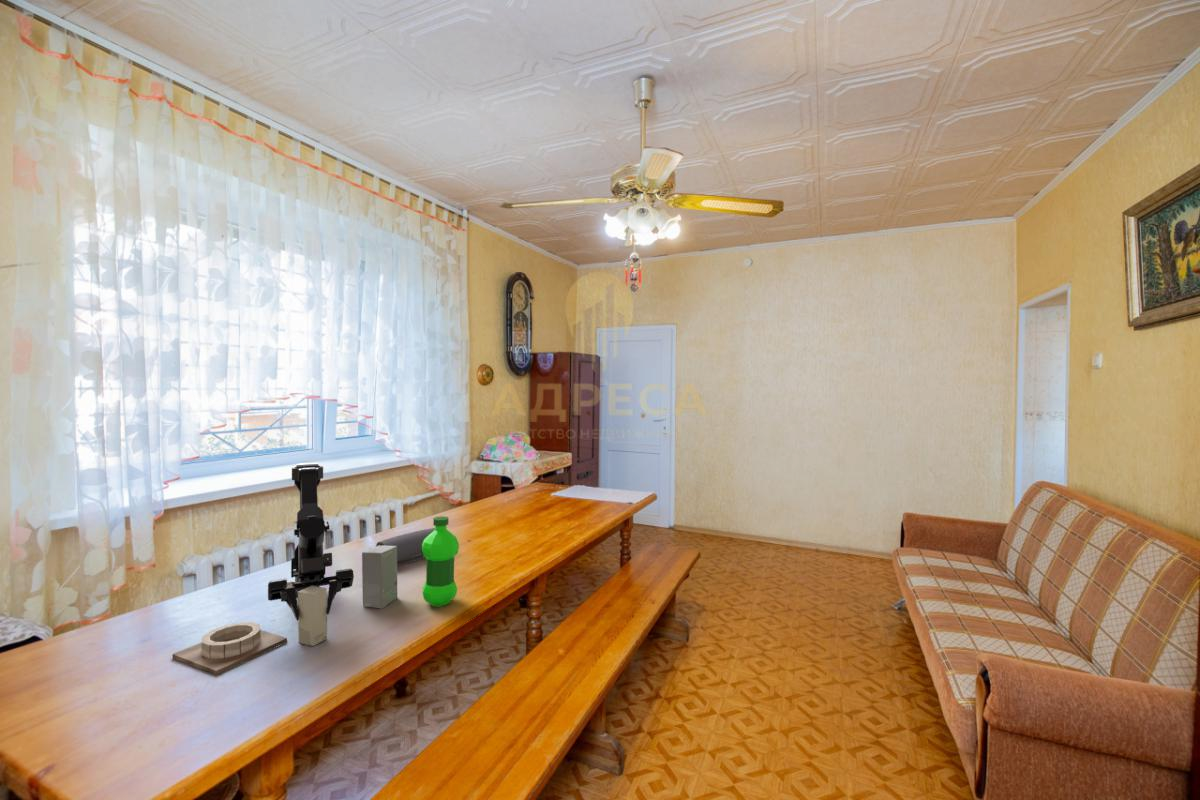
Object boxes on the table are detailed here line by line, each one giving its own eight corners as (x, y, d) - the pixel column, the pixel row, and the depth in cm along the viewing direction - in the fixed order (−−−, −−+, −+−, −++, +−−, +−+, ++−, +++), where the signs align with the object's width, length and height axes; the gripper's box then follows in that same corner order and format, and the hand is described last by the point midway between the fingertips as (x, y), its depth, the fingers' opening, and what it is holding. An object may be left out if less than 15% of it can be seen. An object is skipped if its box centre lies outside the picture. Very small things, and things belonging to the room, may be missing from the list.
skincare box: (382, 609, 144) (382, 553, 144) (359, 606, 146) (360, 551, 145) (399, 597, 153) (399, 545, 152) (377, 595, 154) (378, 543, 153)
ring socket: (172, 658, 117) (172, 641, 116) (244, 628, 131) (244, 613, 131) (216, 675, 110) (216, 657, 110) (286, 642, 125) (287, 625, 125)
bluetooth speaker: (428, 550, 197) (429, 524, 196) (444, 555, 191) (444, 528, 191) (373, 566, 178) (373, 537, 178) (388, 572, 173) (388, 542, 172)
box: (328, 638, 127) (328, 587, 127) (312, 647, 123) (313, 594, 123) (311, 634, 129) (312, 584, 128) (296, 643, 125) (296, 591, 124)
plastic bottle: (438, 613, 142) (439, 524, 142) (413, 604, 148) (414, 518, 147) (465, 601, 151) (466, 517, 150) (440, 593, 156) (442, 512, 156)
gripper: (268, 548, 124) (267, 610, 115) (353, 537, 134) (358, 594, 124) (268, 570, 131) (267, 630, 121) (349, 558, 140) (353, 613, 131)
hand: (313, 616), depth 124 cm, fingers closed on box, 6 cm apart
